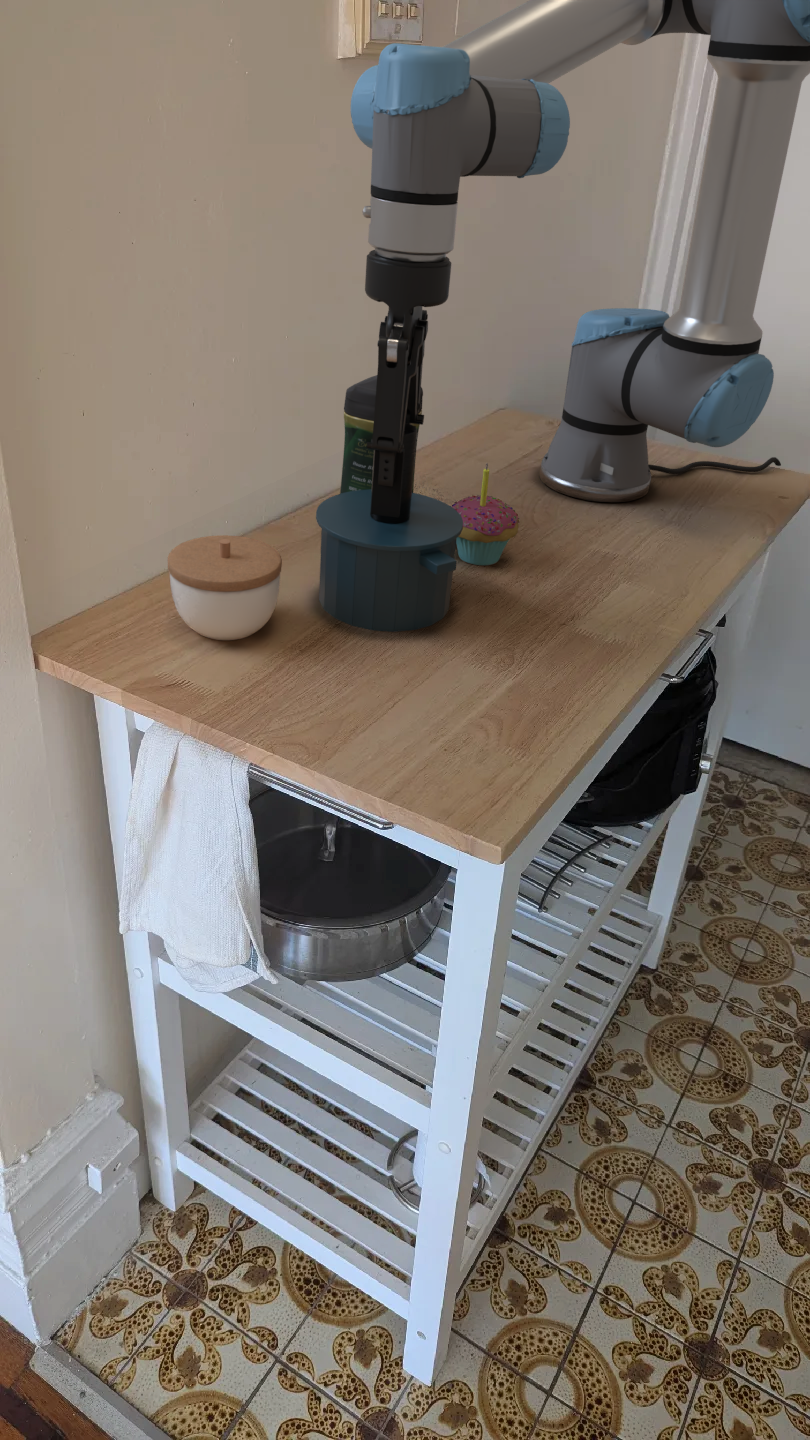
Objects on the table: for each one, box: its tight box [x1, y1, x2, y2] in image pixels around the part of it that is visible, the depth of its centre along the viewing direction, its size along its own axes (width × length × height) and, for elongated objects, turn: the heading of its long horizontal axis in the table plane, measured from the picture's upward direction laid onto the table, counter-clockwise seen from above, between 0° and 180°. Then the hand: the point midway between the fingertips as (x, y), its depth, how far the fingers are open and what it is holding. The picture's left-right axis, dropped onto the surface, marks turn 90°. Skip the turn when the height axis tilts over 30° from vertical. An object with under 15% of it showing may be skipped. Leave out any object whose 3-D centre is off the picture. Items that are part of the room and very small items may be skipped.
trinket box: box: [167, 534, 283, 641], centre depth 102 cm, size 11×11×9 cm
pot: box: [318, 496, 458, 633], centre depth 109 cm, size 14×19×10 cm
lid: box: [315, 423, 463, 551], centre depth 104 cm, size 15×15×10 cm
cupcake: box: [450, 462, 520, 566], centre depth 121 cm, size 9×8×12 cm
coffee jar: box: [339, 374, 424, 494], centre depth 123 cm, size 10×8×19 cm
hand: (391, 500), depth 106 cm, fingers open, 7 cm apart
